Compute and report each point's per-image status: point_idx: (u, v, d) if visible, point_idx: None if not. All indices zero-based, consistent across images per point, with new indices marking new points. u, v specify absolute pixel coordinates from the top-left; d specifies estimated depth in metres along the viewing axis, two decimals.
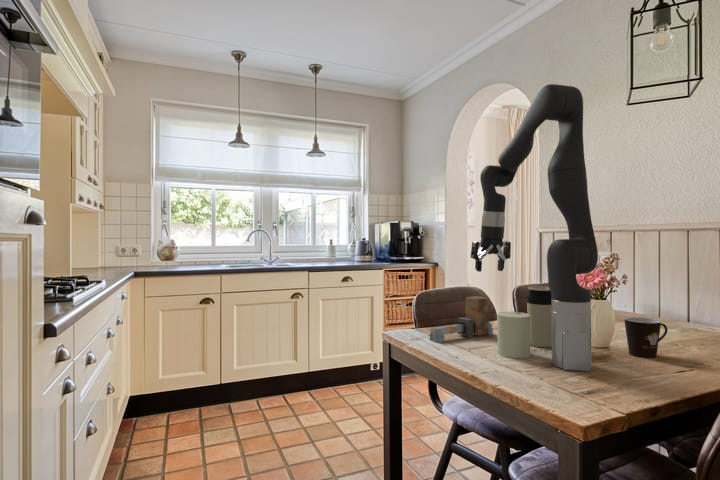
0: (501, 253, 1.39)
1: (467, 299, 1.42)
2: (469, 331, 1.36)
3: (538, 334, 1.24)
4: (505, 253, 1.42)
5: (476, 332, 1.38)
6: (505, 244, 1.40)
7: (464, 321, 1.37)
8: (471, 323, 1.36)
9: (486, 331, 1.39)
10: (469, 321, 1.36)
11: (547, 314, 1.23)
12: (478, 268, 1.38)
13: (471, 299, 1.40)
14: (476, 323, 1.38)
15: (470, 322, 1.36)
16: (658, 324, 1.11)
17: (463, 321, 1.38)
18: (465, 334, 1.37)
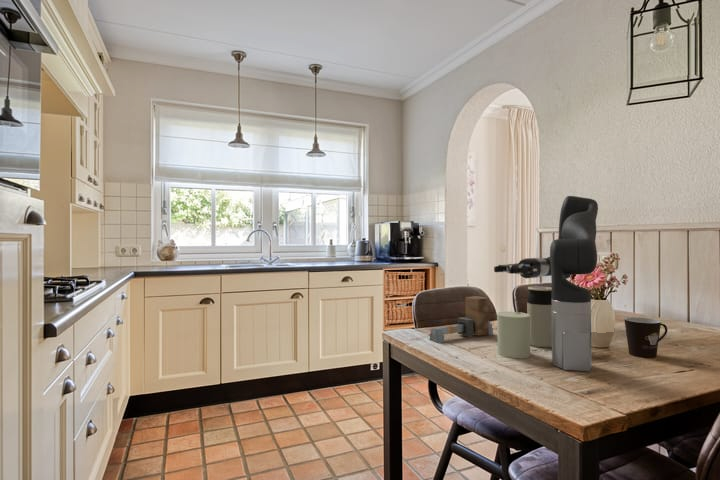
0: (521, 264, 1.48)
1: (467, 299, 1.42)
2: (469, 331, 1.36)
3: (538, 334, 1.24)
4: (527, 272, 1.45)
5: (476, 332, 1.38)
6: None
7: (464, 321, 1.37)
8: (471, 323, 1.36)
9: (486, 331, 1.39)
10: (469, 321, 1.36)
11: (547, 314, 1.23)
12: None
13: (471, 299, 1.40)
14: (476, 323, 1.38)
15: (470, 322, 1.36)
16: (658, 324, 1.11)
17: (463, 321, 1.38)
18: (465, 334, 1.37)
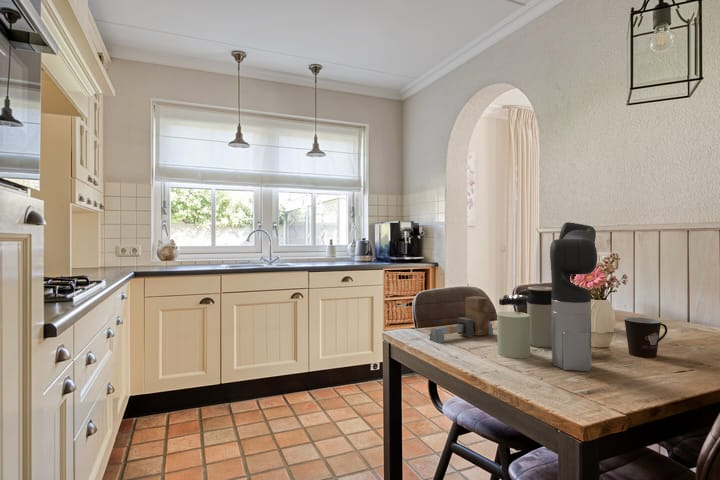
0: (516, 296, 1.49)
1: (467, 299, 1.42)
2: (469, 331, 1.36)
3: (538, 334, 1.24)
4: (518, 304, 1.46)
5: (476, 332, 1.38)
6: None
7: (464, 321, 1.37)
8: (471, 323, 1.36)
9: (486, 331, 1.39)
10: (469, 321, 1.36)
11: (547, 314, 1.23)
12: None
13: (471, 299, 1.40)
14: (476, 323, 1.38)
15: (470, 322, 1.36)
16: (658, 324, 1.11)
17: (463, 321, 1.38)
18: (465, 334, 1.37)
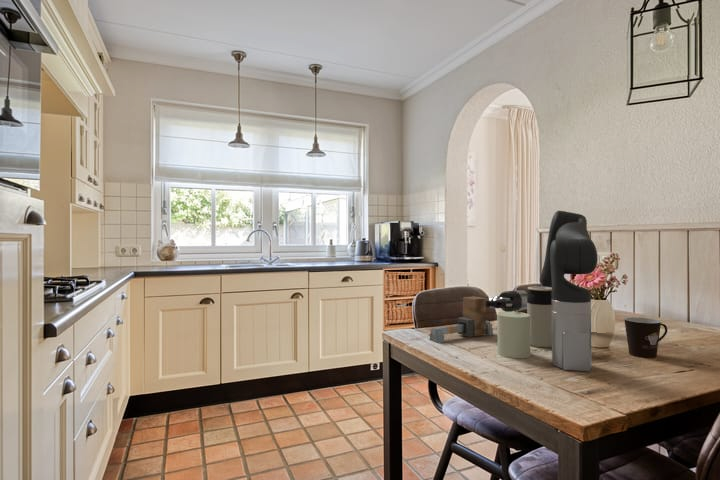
0: (496, 298, 1.44)
1: (464, 299, 1.41)
2: (469, 331, 1.36)
3: (538, 334, 1.24)
4: (498, 306, 1.42)
5: (473, 332, 1.37)
6: None
7: (464, 321, 1.37)
8: (471, 323, 1.36)
9: (483, 331, 1.39)
10: (469, 321, 1.36)
11: (547, 314, 1.23)
12: None
13: (468, 299, 1.39)
14: (473, 323, 1.37)
15: (470, 322, 1.36)
16: (658, 324, 1.11)
17: (463, 321, 1.38)
18: (465, 334, 1.37)
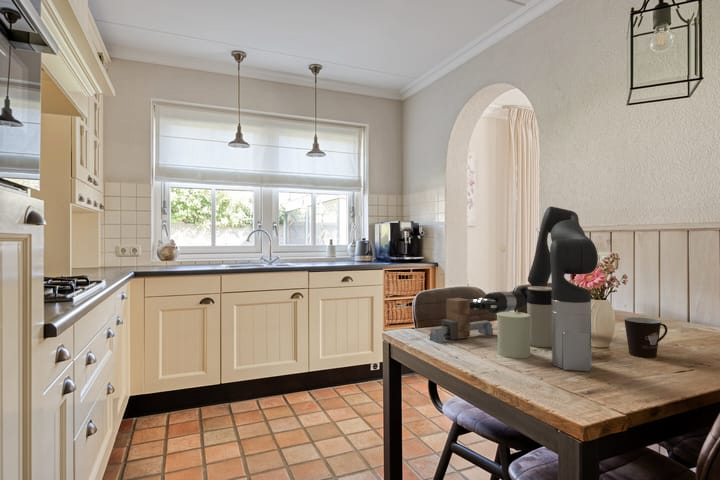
0: (480, 300, 1.41)
1: (448, 301, 1.38)
2: (453, 333, 1.33)
3: (538, 334, 1.24)
4: (482, 308, 1.38)
5: None
6: None
7: (448, 323, 1.34)
8: (455, 325, 1.33)
9: (467, 334, 1.35)
10: (453, 323, 1.33)
11: (547, 314, 1.23)
12: None
13: (452, 301, 1.36)
14: (457, 326, 1.34)
15: (454, 324, 1.33)
16: (658, 324, 1.11)
17: (447, 323, 1.35)
18: (449, 336, 1.34)
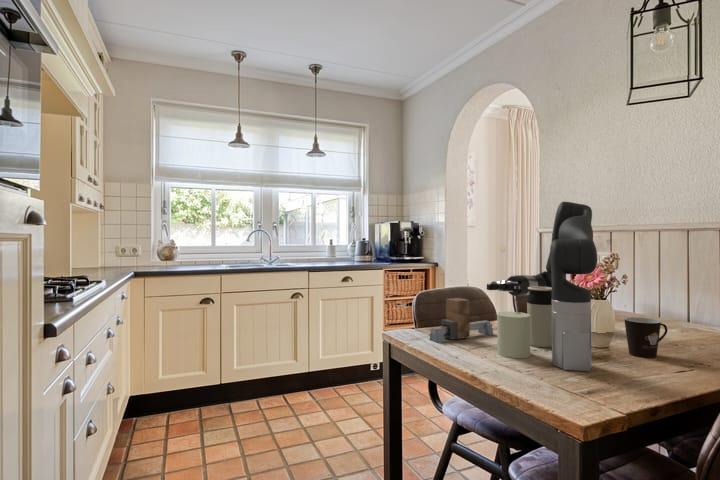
0: (504, 281, 1.46)
1: (448, 301, 1.38)
2: (453, 333, 1.33)
3: (538, 334, 1.24)
4: (506, 289, 1.43)
5: None
6: None
7: (448, 323, 1.34)
8: (455, 325, 1.33)
9: (467, 334, 1.35)
10: (453, 323, 1.33)
11: (547, 314, 1.23)
12: None
13: (451, 301, 1.36)
14: None
15: (454, 324, 1.33)
16: (658, 324, 1.11)
17: (446, 323, 1.35)
18: (449, 336, 1.34)
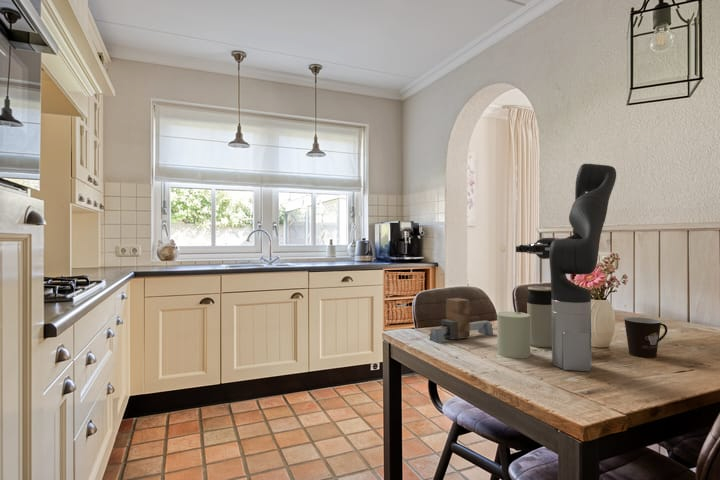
0: (533, 243, 1.39)
1: (448, 301, 1.38)
2: (453, 333, 1.33)
3: (538, 334, 1.24)
4: (537, 251, 1.37)
5: None
6: None
7: (448, 323, 1.34)
8: (455, 325, 1.33)
9: (467, 334, 1.35)
10: (453, 323, 1.33)
11: (547, 314, 1.23)
12: None
13: (451, 301, 1.36)
14: None
15: (454, 324, 1.33)
16: (658, 324, 1.11)
17: (446, 323, 1.35)
18: (449, 336, 1.34)
